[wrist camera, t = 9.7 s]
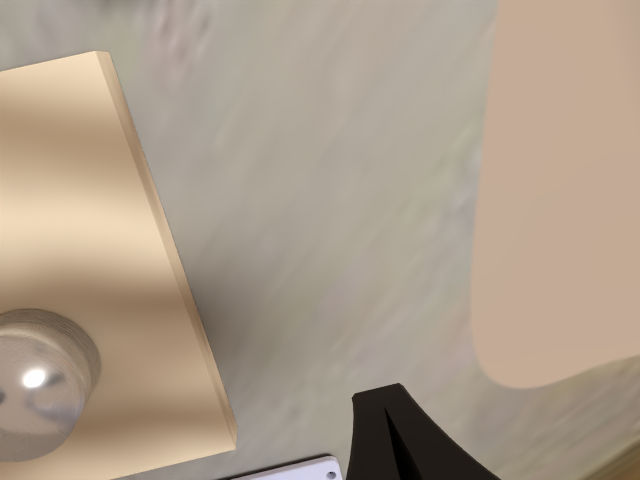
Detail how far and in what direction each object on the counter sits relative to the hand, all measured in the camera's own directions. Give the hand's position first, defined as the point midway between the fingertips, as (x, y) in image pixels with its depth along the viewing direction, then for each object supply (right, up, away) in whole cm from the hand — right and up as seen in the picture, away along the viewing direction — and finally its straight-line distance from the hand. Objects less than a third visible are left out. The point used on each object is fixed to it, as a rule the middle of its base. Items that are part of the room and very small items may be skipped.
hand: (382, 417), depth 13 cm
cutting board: (-14, +2, +8) cm, 16 cm away
